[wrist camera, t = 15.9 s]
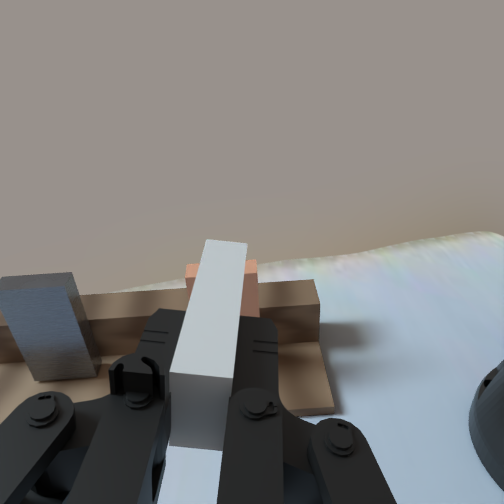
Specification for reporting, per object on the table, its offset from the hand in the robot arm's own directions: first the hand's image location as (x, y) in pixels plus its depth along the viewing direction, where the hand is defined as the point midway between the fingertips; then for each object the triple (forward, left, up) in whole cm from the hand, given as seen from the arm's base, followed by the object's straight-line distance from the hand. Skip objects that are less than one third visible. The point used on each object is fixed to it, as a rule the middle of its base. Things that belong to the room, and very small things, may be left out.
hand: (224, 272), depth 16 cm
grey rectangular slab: (+17, -17, -22) cm, 33 cm away
